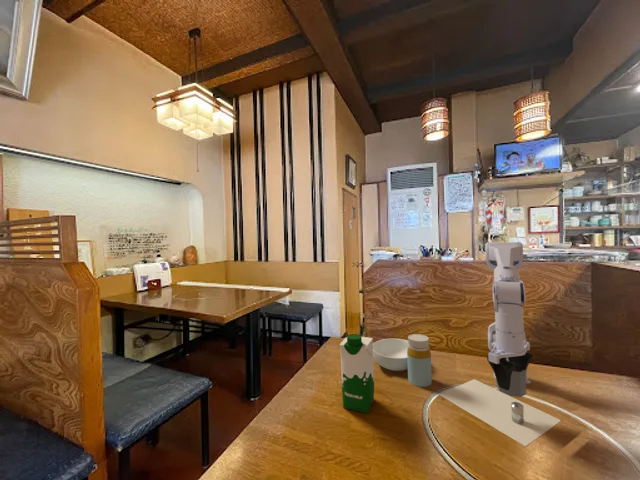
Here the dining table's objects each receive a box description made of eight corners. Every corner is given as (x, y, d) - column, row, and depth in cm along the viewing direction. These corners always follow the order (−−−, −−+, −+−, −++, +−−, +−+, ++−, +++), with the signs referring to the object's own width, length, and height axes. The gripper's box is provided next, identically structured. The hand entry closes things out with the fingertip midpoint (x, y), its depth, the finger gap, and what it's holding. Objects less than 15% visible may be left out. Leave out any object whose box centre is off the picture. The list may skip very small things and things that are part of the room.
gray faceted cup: (505, 381, 71) (504, 358, 71) (529, 392, 66) (529, 367, 66) (492, 387, 68) (491, 364, 68) (517, 399, 63) (516, 373, 63)
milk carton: (339, 409, 75) (336, 337, 75) (349, 391, 83) (347, 327, 83) (370, 416, 71) (367, 341, 71) (377, 397, 79) (375, 330, 79)
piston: (515, 416, 67) (514, 400, 67) (526, 422, 65) (525, 406, 65) (509, 419, 66) (509, 403, 66) (520, 425, 64) (520, 409, 64)
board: (474, 382, 85) (473, 379, 85) (561, 425, 65) (561, 420, 65) (439, 398, 78) (439, 394, 78) (525, 451, 58) (525, 446, 58)
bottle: (434, 391, 81) (432, 342, 81) (409, 389, 83) (408, 341, 82) (429, 379, 88) (427, 333, 88) (407, 378, 90) (405, 333, 89)
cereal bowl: (371, 355, 107) (370, 337, 107) (414, 356, 105) (414, 338, 105) (373, 377, 91) (373, 356, 91) (425, 379, 88) (424, 358, 88)
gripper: (508, 320, 74) (509, 369, 74) (475, 330, 67) (476, 385, 67) (538, 327, 67) (540, 381, 68) (505, 340, 61) (507, 400, 61)
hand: (510, 384), depth 67 cm, fingers closed on gray faceted cup, 6 cm apart
